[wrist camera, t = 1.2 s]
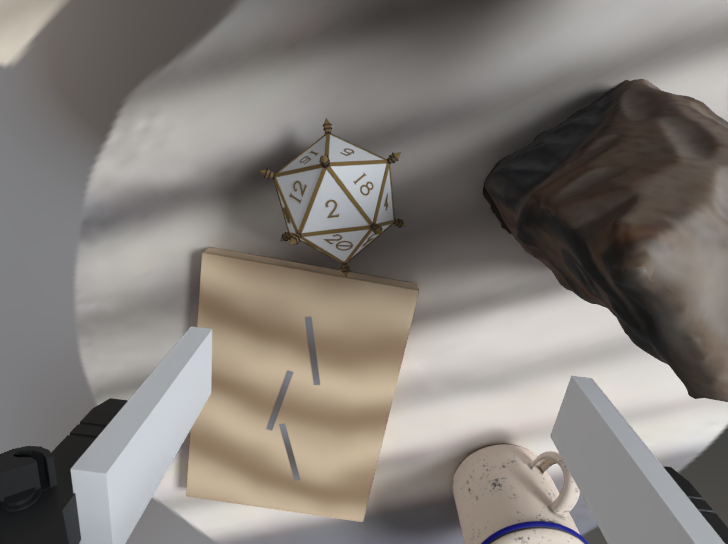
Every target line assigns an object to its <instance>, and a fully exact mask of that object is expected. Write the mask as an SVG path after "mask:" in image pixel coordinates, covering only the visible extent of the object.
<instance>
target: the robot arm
mask: <svg viewBox="0 0 728 544" xmlns="http://www.w3.org/2000/svg"><path fill="white" fill-rule="evenodd" d="M211 379H212V329H207V328H200V327H192V326H191V327H190V328H189V329H188V330H187V331H186V333H185V334H184V335H183V336H182V337H181V339H180V340H179V341H178V342H177V343H176V345H175V346H174V347H173V348H172V349H171V350H170V352H169V353H168V354H167V355H166V356H165V358H164V359H163V360H162V361H161V362H160V364H159V365H158V366H157V367H156V368H155V369H154V371H153V372H152V373H151V374H150V375H149V377H148V378H147V379H146V380H145V381H144V383H143V384H142V385H141V386H140V387H139V388H138V390H137V391H136V392H135V393H134V394H133V396H132V397H131V398H130V399H129V400H128V401H127V400H119V399H111V398H110V399H108V400H107V401H105V402H103V403H102V404H100V405H98V406H96V407H95V408H93V409H92V410H91V411H90V412H89V413H88V414H87V415H86V416H85V417H84V419H83V420H82V421H81V422H80V424H79V425H77V426H76V427H75V428H74V429H73V430H72V431H71V432H70V435H69V436H67V437H66V438H65V439H64V440H63V441H62V442H61V443H60V444H59V445H58V446H57V447H56V448H55V450H53V452H52V453H51V452H50V451H49V450H47V449H44V448H42V447H36V446H26V447H21V448H16V449H12V450H9V451H7V452H4V453H2V454H0V544H79V542H80V544H125V543H126V541H127V540H128V538H129V536H130V534H131V532H132V531H133V529H134V527H135V526H136V524H137V522H138V520H139V519H140V516H141V515H142V513H143V512H144V510H145V508H146V506H147V505H148V503H149V501H150V499H151V498H152V496H153V494H154V492H155V491H156V489H157V487H158V485H159V484H160V482H161V480H162V478H163V477H164V475H165V473H166V471H167V470H168V468H169V466H170V464H171V463H172V461H173V459H174V457H175V456H176V454H177V452H178V451H179V449H180V447H181V445H182V444H183V442H184V440H185V438H186V437H187V435H188V433H189V431H190V430H191V428H192V426H193V424H194V423H195V421H196V419H197V417H198V416H199V414H200V412H201V410H202V409H203V407H204V405H205V403H206V402H207V400H208V398H209V396H210V395H211ZM551 438H552V440H553V442H554V444H555V446H556V448H557V449H558V451H559V453H560V455H561V457H562V459H563V461H564V462H565V464H566V466H567V468H568V470H569V472H570V474H571V475H572V477H573V479H574V481H575V483H576V485H577V487H578V489H579V490H580V492H581V494H582V496H583V498H584V500H585V502H586V503H587V505H588V507H589V509H590V511H591V513H592V515H593V516H594V518H595V520H596V522H597V524H598V526H599V528H600V530H601V531H602V533H603V535H604V537H605V539H606V541H607V542H608V544H728V528H727V526H726V525H725V524H724V523H723V522H722V520H721V519H720V518H719V517H718V516H717V514H714V513H713V510H712V508H711V507H710V506H709V505H708V504H707V503H706V501H704V500H702V497H701V495H700V494H699V493H698V492H697V491H696V490H695V488H694V487H693V486H692V485H691V484H690V482H689V481H687V480H686V479H685V478H684V477H682V476H681V475H680V474H679V473H677V472H676V471H675V470H674V469H672V468H671V467H664V466H662V465H661V463H660V462H659V461H658V460H657V458H656V457H655V456H654V455H653V453H652V452H651V451H650V450H649V449H648V447H647V446H646V445H645V444H644V442H643V441H642V440H641V439H640V437H639V436H638V435H637V434H636V432H635V431H634V430H633V429H632V427H631V426H630V425H629V424H628V422H627V421H626V420H625V419H624V417H623V416H622V415H621V414H620V413H619V411H618V410H617V409H616V408H615V406H614V405H613V404H612V403H611V401H610V400H609V399H608V398H607V396H606V395H605V394H604V393H603V391H602V390H601V389H600V388H599V386H598V385H597V384H596V383H595V381H594V380H593V379H592V378H585V377H577V376H571V379H570V382H569V385H568V387H567V390H566V393H565V396H564V399H563V402H562V404H561V407H560V410H559V413H558V416H557V419H556V421H555V424H554V427H553V430H552V433H551Z"/></svg>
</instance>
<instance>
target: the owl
mask: <svg viewBox="0 0 728 544" xmlns="http://www.w3.org/2000/svg"><path fill="white" fill-rule="evenodd" d="M483 195H484V197H485V199H486V200H487V201H488V202H489V204H490V205H491V209H492V212H493V213H494V214H495V215H496V217H497V218H498V219H499V221H500V222H501V225H502V228H504V229H506V230H507V231H508V232H509V233H510V234H512V235H513V236H514V237H515V239H516V240H517V241H518V242H519V243H520V244H521V245H522V247H523V248H524V249H525V251H526V252H528V253H529V254H531V255H532V256H534V257H535V258H537V259H539V260H540V261H542V262H543V263H544V264H545V265H546V266H547V267H548V268H549V269H550V270H551V271H552V272H553V273H554V275H555V277H556V278H557V280H558V281H559V283H560V284H561V285H562V286H563V287H564V288H566V289H567V290H570V291H573V292H574V293H575V294H576V295H578V296H579V297H580V298H582V299H583V300H585V301H587V302H589V303H591V304H598V305H601V306H603V307H606V308H608V309H609V310H610V311H611V312H612V313H613V315H615V316H616V317H617V319H618V321H619V323H620V324H621V326H622V328H623V330H624V332H625V333H626V334H627V335H628V336H629V338H630V339H631V340H632V342H633V343H634V344H636V345H637V346H638V347H639V348H641V349H642V350H644V351H645V352H647V353H648V354H650V355H652V356H653V357H655V358H656V359H658V360H660V361H662V362H664V363H666V364H668V365H669V366H670V367H671V368H672V370H673V371H674V372H675V374H676V375H677V376H678V377H679V379H680V380H681V381H682V382H683V384H684V385H685V387H686V388H687V391H688V394H689V396H691V397H693V398H695V399H698V398H708V399H714V400H720V401H725V402H728V122H727V121H725V120H724V119H723V118H721V117H719V116H717V115H716V114H715V113H714V112H713V111H711V110H710V109H709V108H708V107H707V106H706V105H705V104H704V103H703V102H701V101H698V100H696V99H694V98H691V97H688V96H681V95H675V94H671V93H668V92H664V91H661V90H660V89H659V88H657V87H656V86H654V85H653V84H652V83H650V82H649V81H647V80H644V79H639V80H632V81H629V80H625V81H624V82H622V83H621V84H620V85H619V86H618V87H616V88H615V89H613V90H612V91H610V92H609V93H607V94H605V95H604V96H602V97H601V98H600V99H598V100H597V101H595V102H594V103H593V104H591V105H589V106H588V107H586V108H584V109H582V110H579V111H577V112H576V113H574V114H573V115H572V116H570V117H569V118H568V119H567V120H566V121H565V122H563V123H562V124H560V125H559V126H557V127H555V128H553V129H552V130H550V131H546V132H543V133H541V134H540V135H538V136H537V137H536V138H535V139H534V140H533V142H532V143H531V144H530V145H528V146H526V147H525V148H523V149H522V150H520V151H518V152H516V153H514V154H511V155H508V156H507V157H505V158H503V159H502V160H500V161H499V162H498V163H497V164H496V165H495V167H494V168H493V169H492V171H491V173H490V174H489V175H488V177H487V178H486V180H485V183H484V188H483Z"/></svg>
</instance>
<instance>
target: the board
mask: <svg viewBox="0 0 728 544" xmlns="http://www.w3.org/2000/svg"><path fill="white" fill-rule="evenodd" d="M341 271H342V270H337V269H331V268H325V267H320V266H314V265H308V264H303V263H297V262H291V261H286V260H280V259H274V258H269V257H263V256H257V255H252V254H246V253H240V252H235V251H229V250H223V249H218V248H212V247H209V248H207V249H206V250H205V251H204V252H202V262H201V277H200V293H199V308H198V323H197V327H200V328H207V329H212V379H211V395H210V396H209V398H208V400H207V402H206V403H205V405H204V407H203V409H202V410H201V412H200V414H199V416H198V417H197V419H196V421H195V423H194V424H193V426H192V428H191V430H190V445H189V460H188V475H187V491H186V496H188V497H195V498H201V499H208V500H215V501H222V502H229V503H236V504H242V505H249V506H256V507H263V508H270V509H277V510H283V511H290V512H297V513H304V514H311V515H318V516H324V517H331V518H338V519H345V520H352V521H359V522H363V520H364V516H365V512H366V507H367V503H368V499H369V495H370V491H371V487H372V483H373V479H374V475H375V470H376V466H377V462H378V458H379V454H380V450H381V446H382V442H383V438H384V433H385V429H386V425H387V421H388V417H389V413H390V409H391V405H392V401H393V396H394V392H395V388H396V384H397V380H398V376H399V372H400V368H401V364H402V359H403V355H404V351H405V347H406V343H407V339H408V335H409V331H410V327H411V322H412V318H413V314H414V310H415V306H416V302H417V298H418V294H419V289H418V285H417V284H416V283H410V282H404V281H399V280H393V279H387V278H382V277H376V276H370V275H365V274H359V273H353V272H349V273H348V275H347V277H346V276H345V275H344V274H343V272H341Z"/></svg>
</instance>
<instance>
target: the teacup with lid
mask: <svg viewBox="0 0 728 544" xmlns="http://www.w3.org/2000/svg"><path fill="white" fill-rule="evenodd" d="M556 463H558V464H559V466H560V467H561V469H562V471H563V474H564V484H563V488H562V491H561V493H560V494H559V492H558V490H557V488H556V486H555V484H554V482H553V480H552V478H551V477H550V475H549V473H548V471H547V469H548V468H549V467H550V466H552V465H553V464H556ZM453 494H454V498H455V503H456V507H457V512H458V516H459V520H460V525H461V529H462V533H463V538H464V542H465V544H588V542H587V541H586V540H585V539H584V538H583V537H582V536H581V535H580V533H579V531H578V529H577V527H576V525H575V524H574V522H573V520H572V518H571V516H570V514H569V512H570V511H571V509H572V508H573V507H574V506H575V504H576V502H577V500H578V498H579V494H580V490H579V489H578V487H577V485H576V483H575V481H574V479H573V477H572V475H571V474H570V472H569V470H568V468H567V466H566V464H565V462H564V461H563V459H562V457H561V455H560V454H559V453H556V452H544V453H542V454H540V455H539V456H536V455H535V454H534V453H532V452H531V451H529V450H527V449H525V448H522V447H519V446H515V445H508V444H501V445H492V446H488V447H485V448H482V449H480V450H478V451H476V452H474V453H472V454H471V455H469V456H468V457H467V458H466V459H465V460H464V461H463V462H462V463H461V464H460V465H459V467H458V468H457V470H456V472H455V475H454V478H453Z"/></svg>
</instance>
